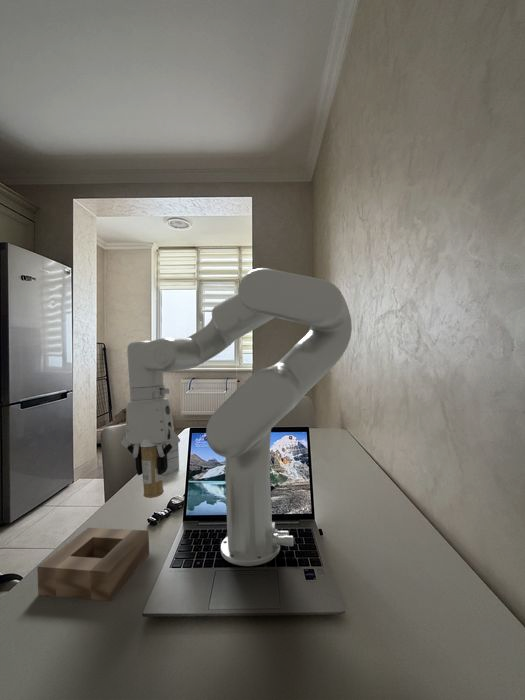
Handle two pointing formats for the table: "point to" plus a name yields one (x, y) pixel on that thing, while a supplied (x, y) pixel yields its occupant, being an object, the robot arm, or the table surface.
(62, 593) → the socket block
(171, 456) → the supplement box
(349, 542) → the table surface
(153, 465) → the sprinkles bottle
